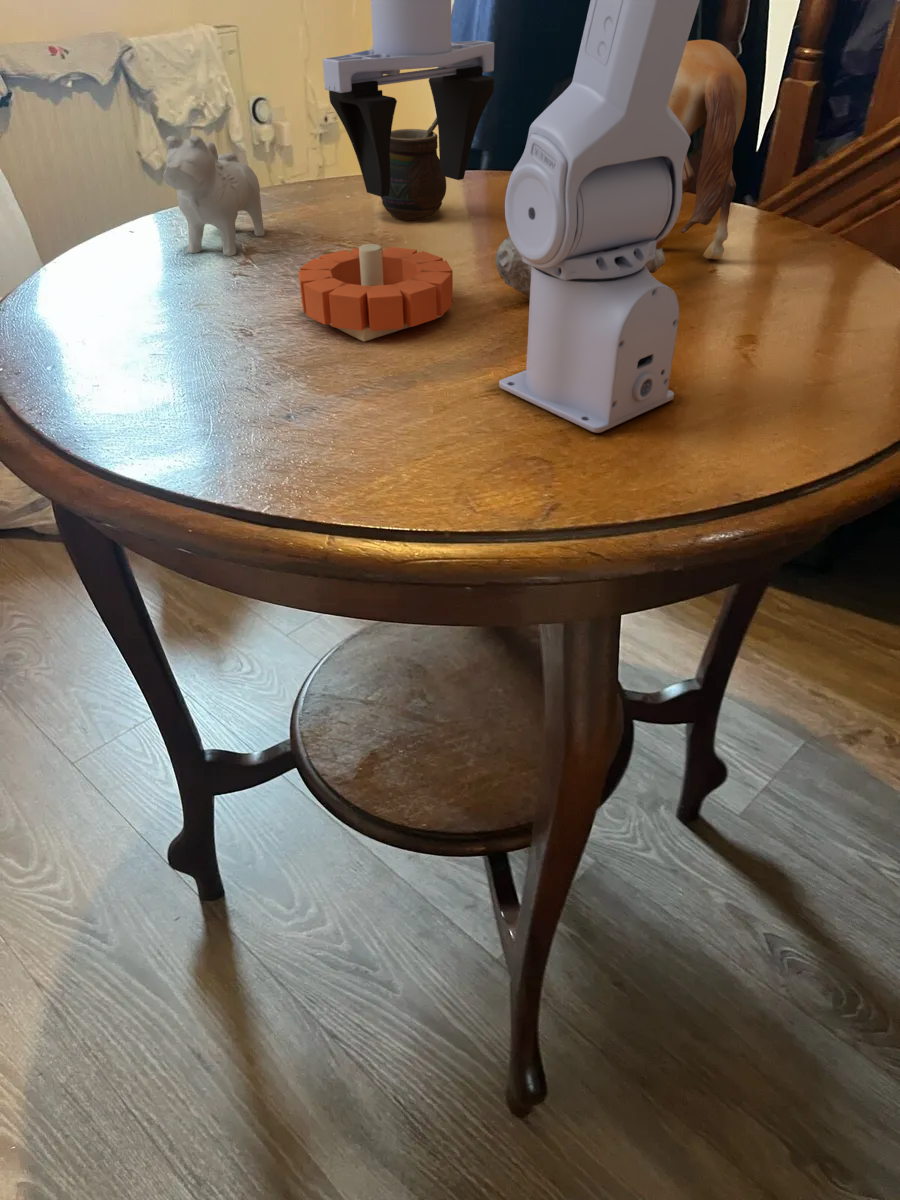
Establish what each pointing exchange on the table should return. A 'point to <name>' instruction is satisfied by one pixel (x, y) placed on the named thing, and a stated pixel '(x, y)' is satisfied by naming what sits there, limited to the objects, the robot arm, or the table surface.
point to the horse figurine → (710, 129)
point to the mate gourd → (414, 174)
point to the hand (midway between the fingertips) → (416, 185)
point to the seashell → (520, 272)
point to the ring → (376, 290)
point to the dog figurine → (211, 190)
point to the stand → (370, 277)
